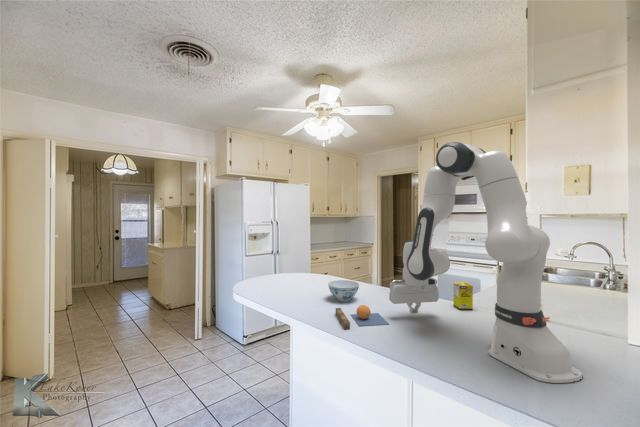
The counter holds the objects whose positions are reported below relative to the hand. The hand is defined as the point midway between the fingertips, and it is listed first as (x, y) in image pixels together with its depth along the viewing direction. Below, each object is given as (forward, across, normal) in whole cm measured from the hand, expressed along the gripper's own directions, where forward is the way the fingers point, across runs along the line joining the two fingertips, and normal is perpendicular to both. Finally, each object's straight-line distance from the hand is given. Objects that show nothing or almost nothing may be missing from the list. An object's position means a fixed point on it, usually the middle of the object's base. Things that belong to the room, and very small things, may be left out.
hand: (413, 313), depth 118 cm
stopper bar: (+2, -30, 0) cm, 30 cm away
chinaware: (+2, -23, +27) cm, 35 cm away
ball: (-1, -21, +1) cm, 21 cm away
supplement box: (+2, +27, +7) cm, 28 cm away
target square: (+2, -19, 0) cm, 19 cm away
